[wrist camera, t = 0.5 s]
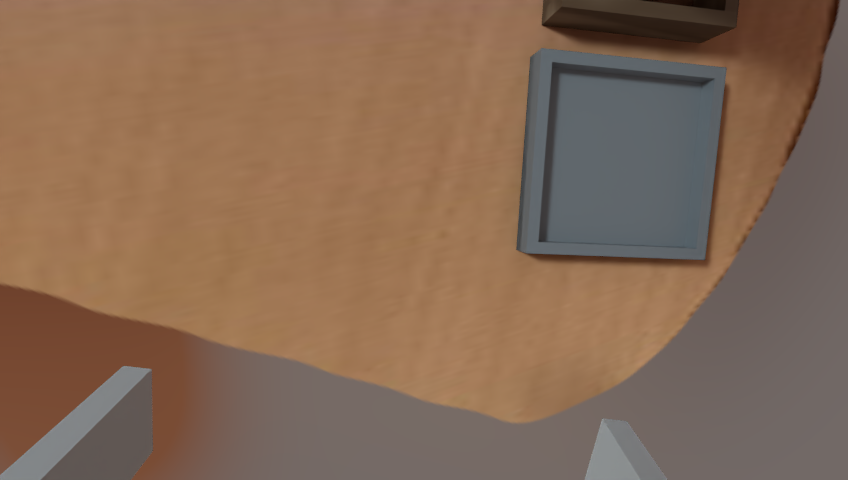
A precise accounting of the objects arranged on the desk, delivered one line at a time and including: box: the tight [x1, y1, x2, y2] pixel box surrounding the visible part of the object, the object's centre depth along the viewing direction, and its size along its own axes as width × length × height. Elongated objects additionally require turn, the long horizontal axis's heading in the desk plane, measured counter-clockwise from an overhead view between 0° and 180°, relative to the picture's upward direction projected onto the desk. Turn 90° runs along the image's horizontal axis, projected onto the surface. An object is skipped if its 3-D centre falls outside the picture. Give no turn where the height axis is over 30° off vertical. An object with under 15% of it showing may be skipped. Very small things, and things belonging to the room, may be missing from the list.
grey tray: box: [516, 48, 726, 260], centre depth 41 cm, size 17×17×2 cm
